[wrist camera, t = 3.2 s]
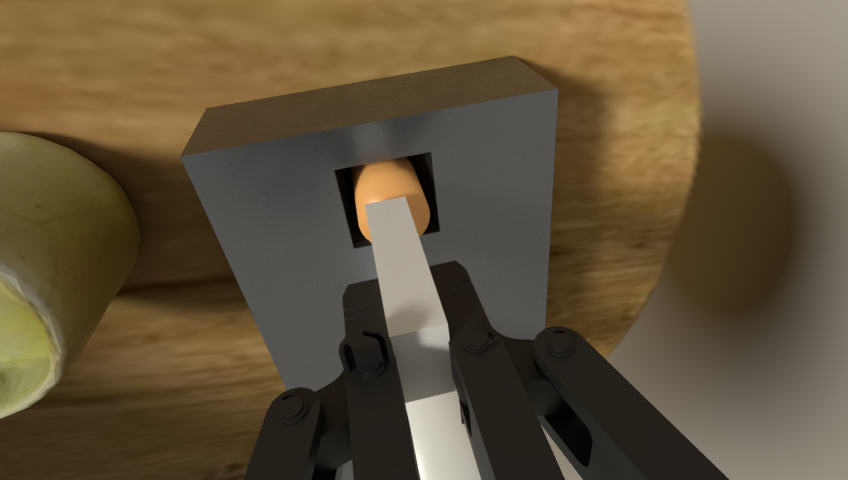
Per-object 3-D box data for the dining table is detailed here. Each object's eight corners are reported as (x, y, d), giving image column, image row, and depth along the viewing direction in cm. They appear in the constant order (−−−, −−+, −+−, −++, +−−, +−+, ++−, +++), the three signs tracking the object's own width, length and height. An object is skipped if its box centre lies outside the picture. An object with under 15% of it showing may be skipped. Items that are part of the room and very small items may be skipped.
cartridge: (370, 316, 29) (409, 599, 17) (356, 259, 27) (389, 546, 15) (442, 301, 30) (528, 566, 18) (435, 242, 27) (531, 509, 15)
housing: (331, 423, 35) (333, 490, 31) (206, 108, 21) (180, 156, 17) (513, 381, 36) (538, 440, 32) (513, 55, 22) (558, 88, 18)
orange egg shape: (355, 186, 24) (365, 253, 19) (343, 134, 22) (351, 194, 17) (410, 175, 24) (433, 240, 19) (402, 123, 22) (425, 179, 18)
